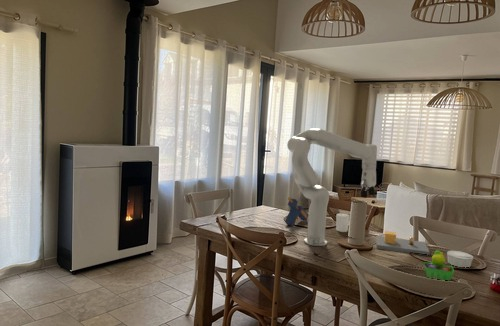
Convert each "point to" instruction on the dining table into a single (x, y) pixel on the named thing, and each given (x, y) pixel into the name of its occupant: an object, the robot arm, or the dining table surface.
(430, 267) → the fruit basket
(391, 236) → the orange cube
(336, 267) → the dining table surface
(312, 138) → the robot arm
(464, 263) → the ramekin
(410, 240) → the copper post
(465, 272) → the dining table surface
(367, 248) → the dining table surface
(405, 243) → the grey flat board
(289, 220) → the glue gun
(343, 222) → the white cup
